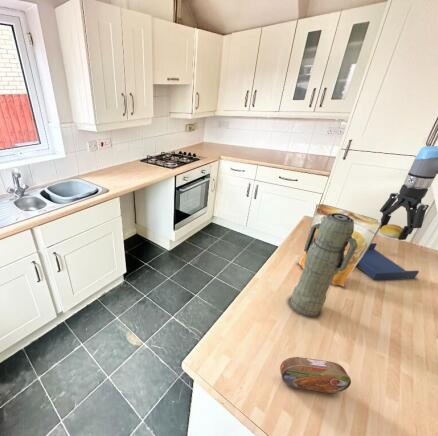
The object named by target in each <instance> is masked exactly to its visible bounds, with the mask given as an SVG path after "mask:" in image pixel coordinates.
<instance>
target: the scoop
mask: <svg viewBox="0 0 438 436" xmlns="http://www.w3.org/2000/svg"><path fill="white" fill-rule="evenodd" d="M376 247H377V243H376V242H372V243H371V245H370V246H369V248H368V250H367V251H366V252H365V253H364V255H363V257H362V258H361V259H360V261H359V262H358V264H357V265H356V267H358V268H359V269H360V270H361V271H363V273H365V274H366V275H368V276H369V277H370V278H371V279H372V280H374V281H384V280H387V281H388V280H407V279H408V280H409V279H410V280H411V279H416V278H417V276H418V274H419V273H420V270H405V268H402V267H401V266H399V265H398V264H396V263H395V262H394V261H392V260H391V259H389V258H388V257H386V256H385V255H383V254H381V253H380V252H378V251H377V250H376V249H375V248H376Z"/></svg>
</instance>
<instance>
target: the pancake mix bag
mask: <svg viewBox="0 0 438 436" xmlns="http://www.w3.org/2000/svg"><path fill="white" fill-rule="evenodd" d="M331 213H340V214H344V215H347V216H349V217H350V218H352V219H353V220H354V231H353V234H352V238H353V239H355V240H356V242H357V245H358V246H357V248H356V250H355V252H354V254H353V256H352V258H351V259H350V261H349V263H348V266H347V268H346V269H345V270H341V271H338V273H337V274H336V275H334V277H333V279H332V282H331V284H330V285H333V286H340V287H343V288H344V287H345V281H346V280H347V279H348V277H349V276H350V275H351V274H352V272H353V271H354V269H355V268H356V267H357V264H358V262H359V261H360V259H361V258H362V257H363V255H364V253H365V252H366V251H367V250H368V248H369V246H370V245H371V243H373V241H374V239H375V237H376V236H377V235H378V233H380V227H381V222H379V220H378V219H376V218H374V217H371V216H366V215H364V214H359V213H355V212H353V211H350V210H347V209H343V208H339V207H335V206H332V205H329V204H324V203H317V204H316V206H315V209H314V212H313V216H312V221H311V224H310V227H309V231H308V236H309V233H310V230H311V228H312V227H313V226H314V225H316V224H319V223H320V224H321V222H322V220H323V219H324V218H325V217H326V216H327V215H328V214H331ZM318 230H319V229H317V228H316V231H315V234H314V236H313V239H312V242H311V245H312V244H313V243H314V240H315V239H316V235H317V232H318ZM308 236H307V237H308ZM311 245H310V246H311ZM349 247H350V244H349V242H348V245H347V246H346V247H345V251H344V258H345V256H346V254H347V252H348V249H349ZM303 252H304V253H303V255H302V258H301V260H300V262H299V263H298V265H299V266H301V267H302V268H301V269H302V270H303V269H304V266H305V263H304V261H305V258H306V255H307V254H306V252H305V251H303Z"/></svg>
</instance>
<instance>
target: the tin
mask: <svg viewBox="0 0 438 436" xmlns="http://www.w3.org/2000/svg"><path fill="white" fill-rule="evenodd" d="M279 373H280V375H281V379H282V381H283V383H284V384H285V385H287V386H289V387H292V388H295V389H301V390H309V391H314V392H320V393H327V394H337V393H341V392H343V391H346V390H347V389H348V388H350V386H351V385H352V379H351V377H350V375H349V374H348V372H347V371H346V369H345V368H344V367H343V366H342V365H341V364H339V363H337V362H335V361H329V360H321V359H314V358H307V357H300V356H294V357H293V356H292V357H289V358H286V359H284V360H283V361H282V362H281V364H280V365H279Z"/></svg>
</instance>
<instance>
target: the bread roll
mask: <svg viewBox="0 0 438 436" xmlns="http://www.w3.org/2000/svg"><path fill="white" fill-rule="evenodd" d="M403 228H404V227H401V226H400V225H397V224H393V223H392V224H391V223H390V224H389V223H388V224H387V225H384V226H383V227H382V228H381V229H379V234H381V235H382V236H385V237H387V238H390V239H397V240H398V238H399V236H400V234H401V232H402V230H403Z"/></svg>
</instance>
